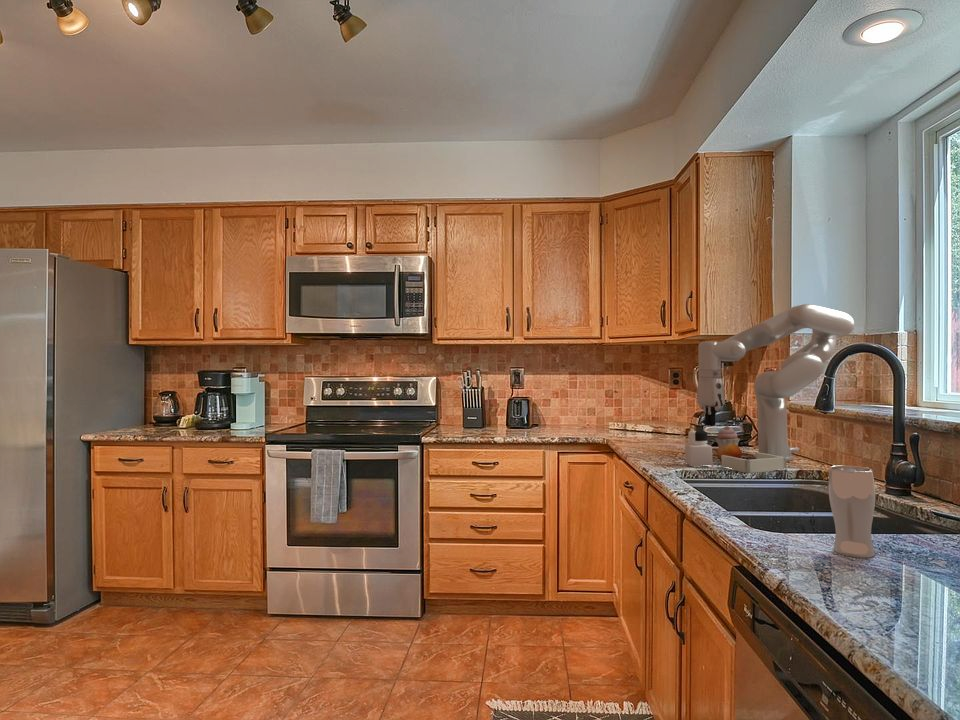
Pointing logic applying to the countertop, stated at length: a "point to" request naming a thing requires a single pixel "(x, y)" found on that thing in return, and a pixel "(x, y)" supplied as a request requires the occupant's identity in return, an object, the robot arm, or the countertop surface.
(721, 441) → the cupcake
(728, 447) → the fruit
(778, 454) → the robot arm
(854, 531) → the beer glass
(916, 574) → the countertop surface
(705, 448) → the medicine bottle
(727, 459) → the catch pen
